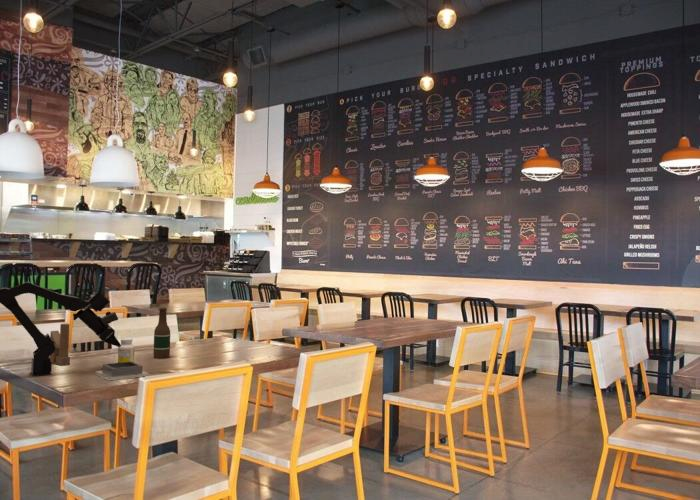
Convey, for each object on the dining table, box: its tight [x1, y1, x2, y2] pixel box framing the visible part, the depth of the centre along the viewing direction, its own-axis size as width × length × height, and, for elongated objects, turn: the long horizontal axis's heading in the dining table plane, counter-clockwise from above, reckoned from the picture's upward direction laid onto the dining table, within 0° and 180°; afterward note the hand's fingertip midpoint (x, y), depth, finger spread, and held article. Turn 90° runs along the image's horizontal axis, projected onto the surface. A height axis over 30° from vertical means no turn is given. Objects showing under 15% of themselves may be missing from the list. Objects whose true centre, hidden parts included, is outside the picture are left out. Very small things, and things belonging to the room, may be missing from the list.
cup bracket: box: [95, 361, 150, 382], centre depth 241 cm, size 16×16×4 cm
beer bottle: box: [152, 306, 171, 360], centre depth 286 cm, size 8×8×24 cm
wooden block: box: [49, 323, 71, 366], centre depth 262 cm, size 4×11×18 cm, turn 55°
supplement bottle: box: [117, 337, 136, 363], centre depth 255 cm, size 7×7×13 cm
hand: (118, 344), depth 254 cm, fingers open, 9 cm apart
